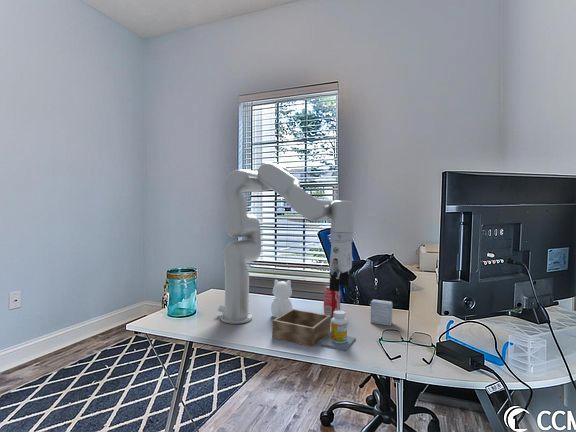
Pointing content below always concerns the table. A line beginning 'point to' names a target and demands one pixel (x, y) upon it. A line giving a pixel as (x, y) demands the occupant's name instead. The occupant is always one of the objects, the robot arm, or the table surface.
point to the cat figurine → (281, 298)
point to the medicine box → (381, 312)
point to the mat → (339, 345)
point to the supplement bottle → (339, 327)
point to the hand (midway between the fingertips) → (339, 287)
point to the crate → (301, 327)
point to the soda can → (331, 301)
